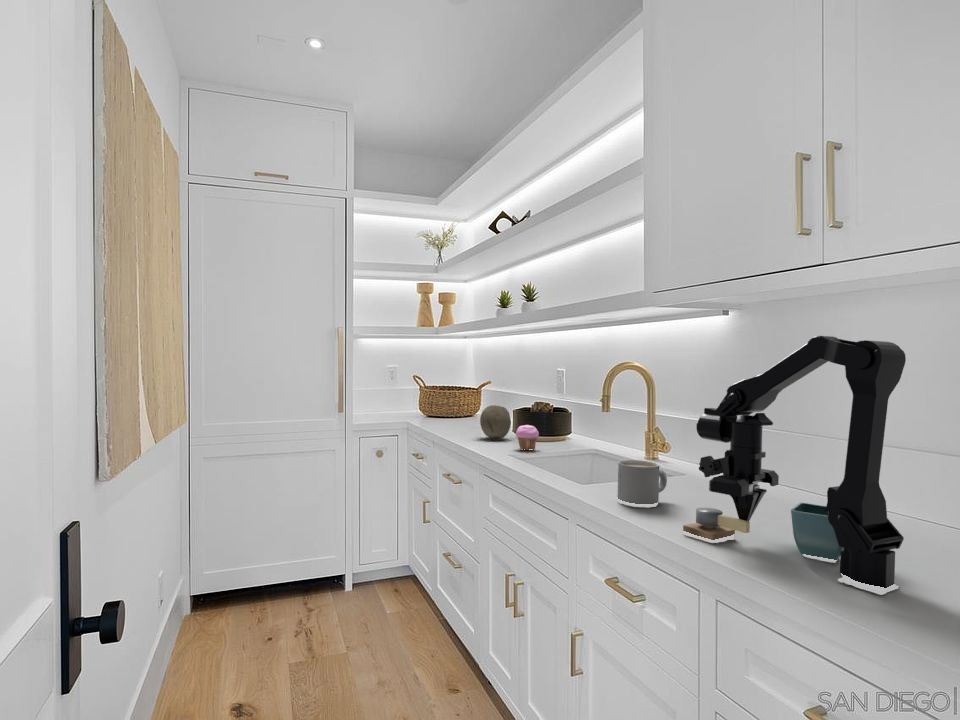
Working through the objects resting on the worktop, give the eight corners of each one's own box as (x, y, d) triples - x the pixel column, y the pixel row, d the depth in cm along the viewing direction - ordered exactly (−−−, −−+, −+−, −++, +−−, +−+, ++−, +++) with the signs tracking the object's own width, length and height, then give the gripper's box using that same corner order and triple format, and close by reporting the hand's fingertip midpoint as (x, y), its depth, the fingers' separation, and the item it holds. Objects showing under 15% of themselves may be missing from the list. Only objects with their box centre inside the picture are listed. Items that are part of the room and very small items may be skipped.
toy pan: (755, 532, 111) (755, 519, 111) (739, 536, 108) (739, 522, 108) (706, 518, 120) (706, 506, 120) (690, 521, 118) (690, 509, 118)
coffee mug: (627, 508, 138) (629, 467, 138) (610, 498, 148) (612, 460, 148) (678, 507, 140) (679, 466, 140) (658, 497, 150) (659, 459, 150)
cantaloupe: (517, 440, 250) (518, 406, 250) (489, 442, 243) (490, 407, 243) (500, 436, 262) (501, 403, 262) (473, 437, 255) (474, 404, 255)
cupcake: (527, 452, 218) (527, 426, 218) (510, 449, 224) (511, 424, 224) (542, 450, 224) (543, 425, 224) (526, 447, 230) (527, 422, 230)
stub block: (734, 539, 116) (734, 526, 116) (712, 544, 112) (713, 531, 112) (704, 530, 122) (705, 518, 122) (683, 534, 118) (683, 522, 118)
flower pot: (798, 547, 112) (799, 501, 112) (852, 557, 106) (853, 509, 106) (788, 558, 105) (790, 509, 105) (845, 570, 100) (846, 519, 100)
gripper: (727, 437, 126) (725, 508, 126) (684, 444, 114) (682, 523, 114) (780, 444, 118) (778, 519, 118) (741, 452, 106) (738, 536, 106)
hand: (743, 524), depth 114 cm, fingers closed
